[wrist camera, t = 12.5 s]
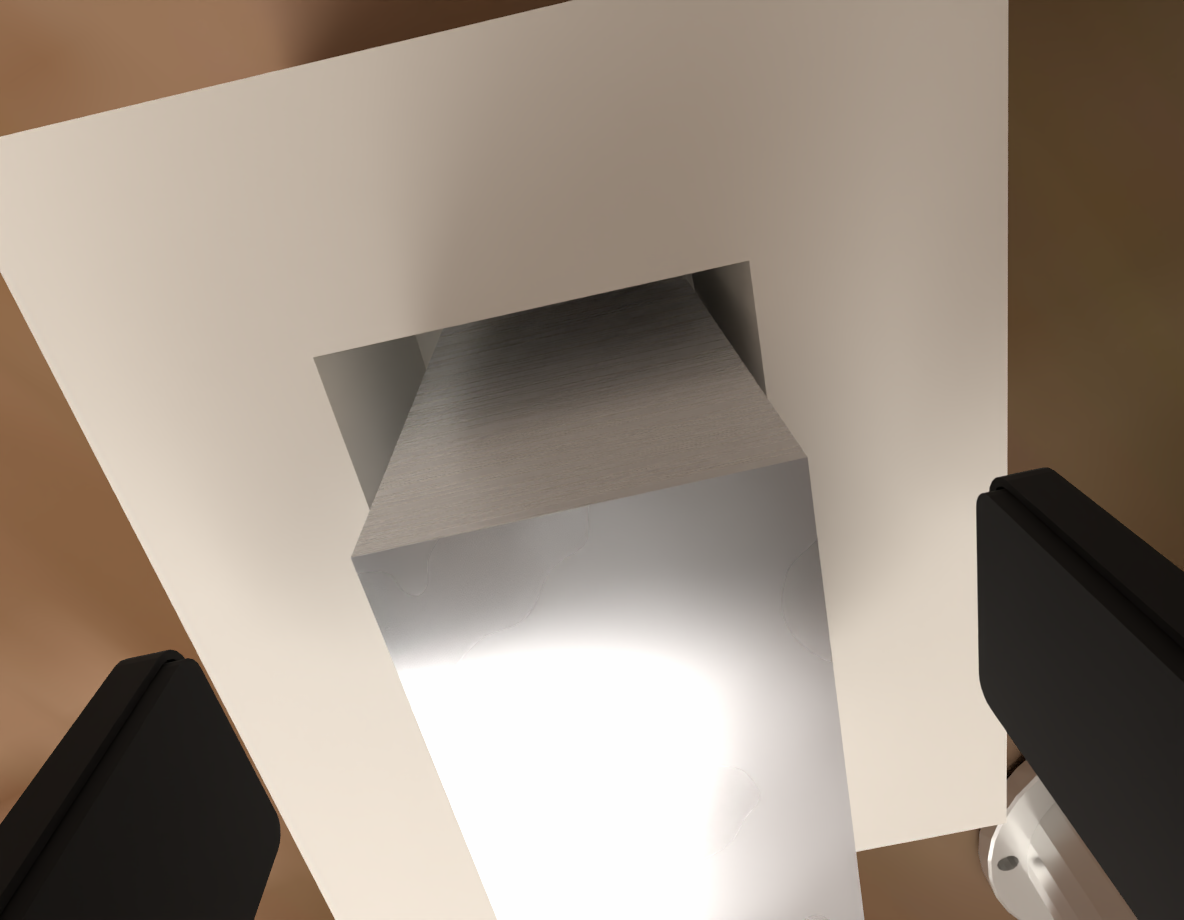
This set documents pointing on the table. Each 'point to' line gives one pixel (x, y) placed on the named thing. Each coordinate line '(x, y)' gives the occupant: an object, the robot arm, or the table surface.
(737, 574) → the white rectangular block
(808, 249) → the white box with slot
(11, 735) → the table surface
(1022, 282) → the table surface
